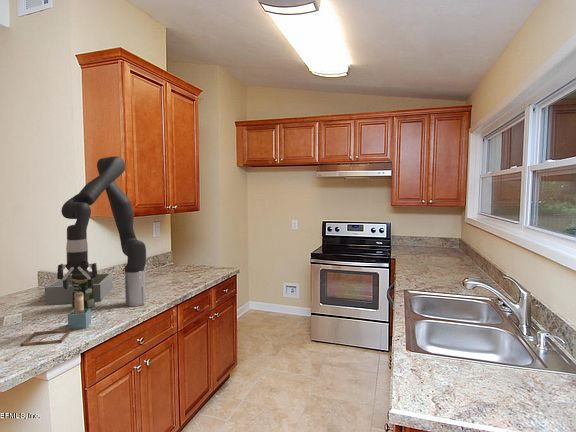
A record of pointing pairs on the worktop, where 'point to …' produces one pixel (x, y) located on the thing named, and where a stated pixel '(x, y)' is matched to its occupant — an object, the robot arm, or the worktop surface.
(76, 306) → the dowel
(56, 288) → the grey open bin
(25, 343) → the tray
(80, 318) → the blue open box
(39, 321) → the worktop surface
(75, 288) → the coffee jar
